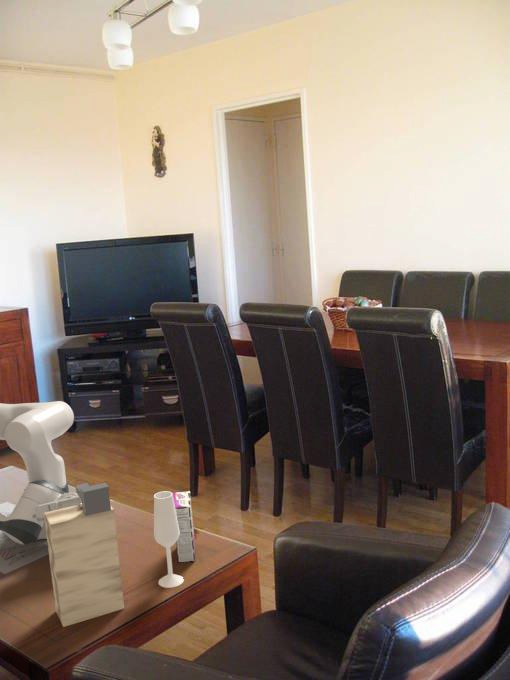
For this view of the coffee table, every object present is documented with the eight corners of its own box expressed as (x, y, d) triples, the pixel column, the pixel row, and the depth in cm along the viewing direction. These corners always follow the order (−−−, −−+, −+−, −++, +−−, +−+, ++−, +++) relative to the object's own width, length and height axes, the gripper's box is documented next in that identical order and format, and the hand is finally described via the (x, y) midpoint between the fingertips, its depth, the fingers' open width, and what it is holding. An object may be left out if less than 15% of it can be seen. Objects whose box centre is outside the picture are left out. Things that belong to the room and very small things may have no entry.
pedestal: (55, 611, 183) (43, 508, 178) (115, 594, 189) (104, 493, 184) (63, 627, 176) (50, 520, 171) (124, 608, 182) (113, 504, 177)
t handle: (70, 494, 189) (67, 471, 187) (93, 488, 191) (91, 466, 190) (86, 516, 174) (83, 492, 173) (110, 510, 177) (108, 486, 176)
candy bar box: (177, 545, 214) (173, 491, 211) (195, 543, 214) (190, 490, 211) (177, 563, 203) (172, 507, 200) (195, 562, 203) (190, 506, 200)
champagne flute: (174, 589, 190) (166, 501, 185) (153, 584, 193) (144, 497, 188) (188, 577, 195) (181, 491, 191) (168, 572, 199) (160, 488, 194)
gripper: (29, 506, 206) (34, 497, 195) (101, 490, 215) (110, 480, 203) (33, 529, 205) (39, 521, 193) (106, 511, 214) (115, 503, 202)
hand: (76, 500), depth 198 cm, fingers open, 8 cm apart
